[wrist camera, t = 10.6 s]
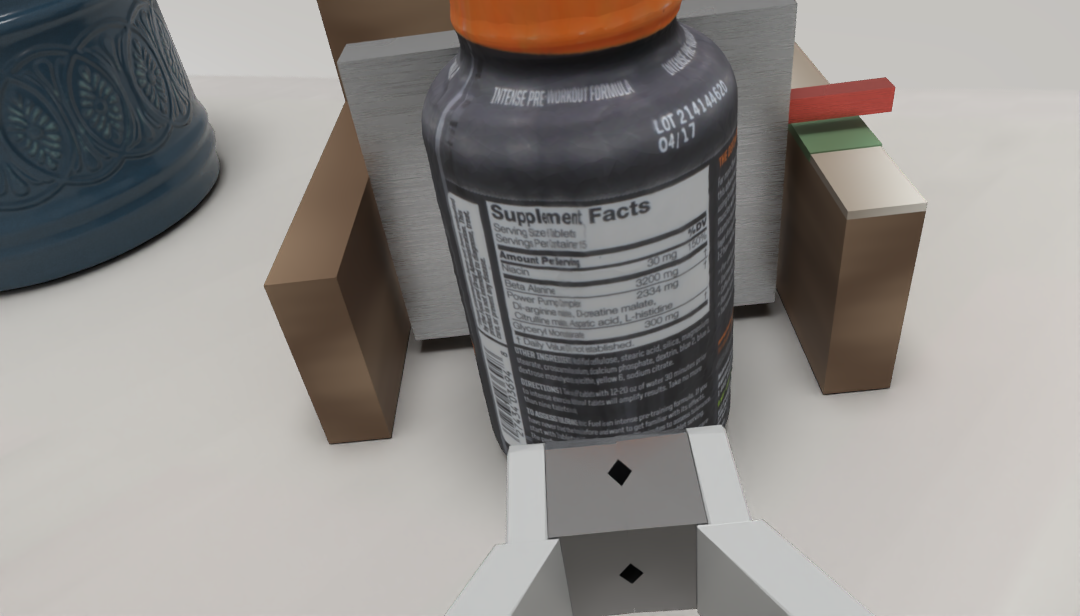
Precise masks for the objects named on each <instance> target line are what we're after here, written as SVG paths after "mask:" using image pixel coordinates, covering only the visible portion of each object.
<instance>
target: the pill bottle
mask: <svg viewBox="0 0 1080 616" xmlns="http://www.w3.org/2000/svg"><path fill="white" fill-rule="evenodd" d="M449 1H450V20H451V23H452V26H453V28H454V30H455V32H456V33H457V36H458V39H459V43H460V47H459V50H458V53H457V55H456V56H455V57H454V58H453V59H452V60H450V62H449V63H448V64H447V65H446V66H445V67H444V68H443V69H442V70H441V71H440V72H439V73H438V75H437V76H436V77H435V79H434V80H433V82H432V83H431V85H430V88H429V90H428V92H427V95H426V97H425V100H424V105H423V110H422V118H421V122H422V136H423V141H424V145H425V148H426V152H427V156H428V161H429V165H430V170H431V175H432V180H433V184H434V188H435V193H436V198H437V203H438V206H439V209H440V213H441V217H442V221H443V225H444V229H445V234H446V237H447V241H448V247H449V251H450V254H451V258H452V263H453V268H454V273H455V276H456V279H457V284H458V288H459V292H460V296H461V301H462V304H463V307H464V310H465V315H466V321H467V323H468V328H469V333H470V337H471V340H472V344H473V347H474V352H475V356H476V361H477V365H478V370H479V375H480V379H481V383H482V387H483V392H484V396H485V399H486V403H487V407H488V412H489V416H490V420H491V424H492V428H493V431H494V433H495V436H496V438H497V441H498V443H499V445H500V447H501V449H502V450H503V452H504V453H505V454H506V455H507V454H508V450H509V446H513V445H526V444H538V443H545V442H557V441H570V440H583V439H596V438H609V437H615V436H621V435H630V434H639V433H648V432H657V431H665V430H674V429H683V428H684V429H685V430H686V428H695V427H704V426H714V425H722V426H723V427H725V424H726V422H727V419H728V414H729V409H730V381H731V371H732V359H733V307H734V293H735V292H734V269H735V262H734V260H735V223H736V217H735V211H736V166H737V146H738V137H737V123H738V88H737V83H736V79H735V75H734V72H733V69H732V67H731V64H730V62H729V61H728V59H727V58H726V56H725V54H724V53H723V52H722V50H721V49H720V48H719V47H718V46H717V45H716V44H715V43H714V42H713V41H712V40H711V39H710V38H708V37H707V36H706V35H704V34H703V33H701V32H700V31H698V30H696V29H694V28H692V27H690V26H688V25H686V24H683V23H680V22H678V21H677V18H676V16H677V13H678V11H679V9H680V6H681V2H682V0H449Z"/></svg>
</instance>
